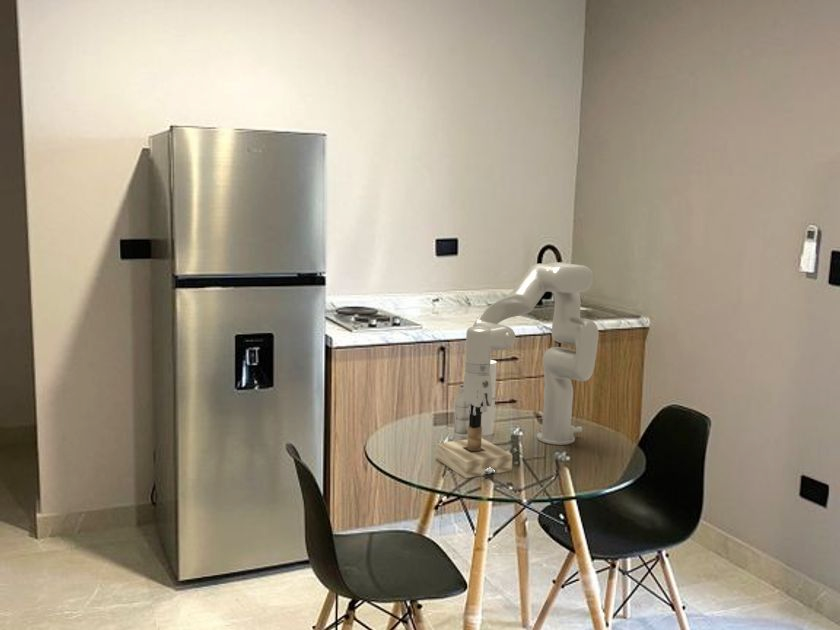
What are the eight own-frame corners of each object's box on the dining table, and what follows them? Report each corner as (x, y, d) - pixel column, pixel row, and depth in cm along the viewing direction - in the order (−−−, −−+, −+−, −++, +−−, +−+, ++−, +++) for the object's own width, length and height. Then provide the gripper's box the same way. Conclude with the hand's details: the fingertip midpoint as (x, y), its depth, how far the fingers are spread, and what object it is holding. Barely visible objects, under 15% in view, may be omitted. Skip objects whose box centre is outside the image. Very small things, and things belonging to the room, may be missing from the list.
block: (480, 452, 273) (481, 437, 272) (511, 470, 257) (512, 454, 256) (436, 459, 265) (436, 443, 265) (465, 478, 250) (466, 461, 249)
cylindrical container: (493, 436, 290) (497, 364, 286) (472, 435, 291) (476, 363, 286) (492, 429, 297) (495, 359, 293) (472, 428, 298) (475, 358, 293)
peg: (475, 461, 264) (477, 424, 262) (483, 466, 260) (484, 428, 258) (463, 463, 262) (465, 425, 260) (470, 468, 258) (472, 429, 256)
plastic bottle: (456, 449, 275) (458, 389, 271) (449, 443, 281) (452, 384, 278) (475, 448, 277) (477, 388, 273) (468, 442, 283) (470, 383, 280)
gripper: (501, 372, 251) (498, 432, 254) (475, 361, 264) (472, 418, 267) (479, 374, 248) (477, 435, 251) (454, 363, 261) (452, 421, 264)
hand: (475, 426), depth 259 cm, fingers closed
